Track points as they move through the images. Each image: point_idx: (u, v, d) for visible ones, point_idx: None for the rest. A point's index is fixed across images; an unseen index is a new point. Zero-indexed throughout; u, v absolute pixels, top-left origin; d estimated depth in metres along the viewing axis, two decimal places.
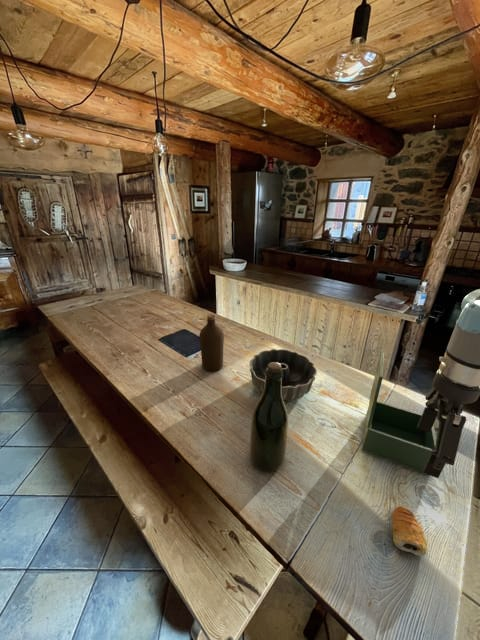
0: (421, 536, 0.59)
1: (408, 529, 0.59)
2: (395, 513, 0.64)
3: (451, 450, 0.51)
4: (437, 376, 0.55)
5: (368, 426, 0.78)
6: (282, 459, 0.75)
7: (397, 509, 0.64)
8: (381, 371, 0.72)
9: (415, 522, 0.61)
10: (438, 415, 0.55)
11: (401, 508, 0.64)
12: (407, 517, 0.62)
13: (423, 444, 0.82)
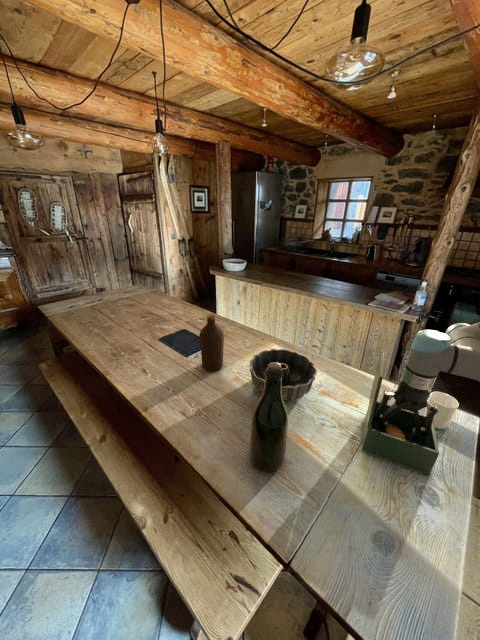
0: (404, 439, 0.81)
1: (395, 435, 0.82)
2: (386, 427, 0.86)
3: None
4: (419, 394, 0.71)
5: (368, 426, 0.78)
6: (282, 459, 0.75)
7: (388, 425, 0.87)
8: (381, 371, 0.72)
9: (400, 432, 0.84)
10: (416, 414, 0.75)
11: (391, 424, 0.87)
12: (394, 429, 0.84)
13: (423, 444, 0.82)
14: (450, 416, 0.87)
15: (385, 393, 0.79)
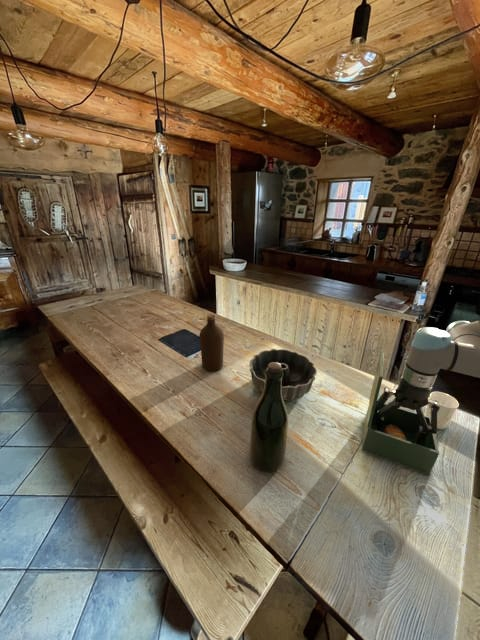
0: (404, 439, 0.81)
1: (395, 435, 0.82)
2: (386, 427, 0.86)
3: None
4: (419, 391, 0.71)
5: (368, 426, 0.78)
6: (282, 459, 0.75)
7: (388, 425, 0.87)
8: (381, 371, 0.72)
9: (400, 432, 0.84)
10: (419, 412, 0.75)
11: (391, 424, 0.87)
12: (394, 429, 0.84)
13: (423, 444, 0.82)
14: (450, 416, 0.87)
15: (386, 390, 0.78)
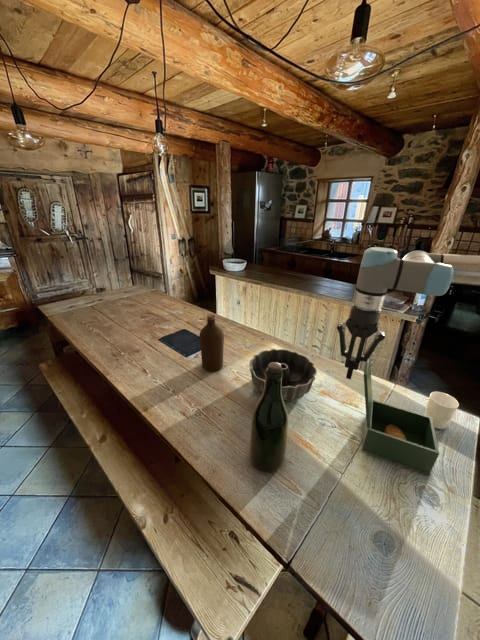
0: (404, 439, 0.81)
1: (395, 435, 0.82)
2: (386, 427, 0.86)
3: None
4: (367, 314, 0.69)
5: (367, 426, 0.78)
6: (282, 459, 0.75)
7: (388, 425, 0.87)
8: (365, 369, 0.74)
9: (400, 432, 0.84)
10: (363, 339, 0.74)
11: (391, 424, 0.87)
12: (394, 429, 0.84)
13: (423, 444, 0.82)
14: (450, 416, 0.87)
15: (338, 325, 0.77)
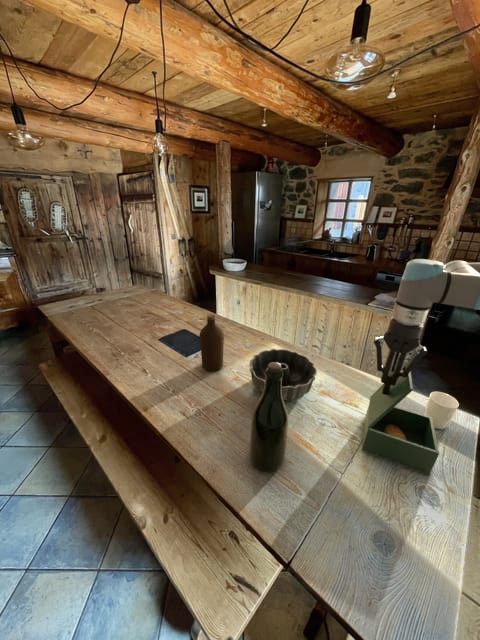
0: (404, 439, 0.81)
1: (395, 435, 0.82)
2: (386, 427, 0.86)
3: None
4: (410, 329, 0.66)
5: (369, 426, 0.78)
6: (282, 459, 0.75)
7: (388, 425, 0.87)
8: (411, 383, 0.70)
9: (400, 432, 0.84)
10: (403, 354, 0.71)
11: (391, 424, 0.87)
12: (394, 429, 0.84)
13: (423, 444, 0.82)
14: (450, 416, 0.87)
15: (375, 339, 0.74)
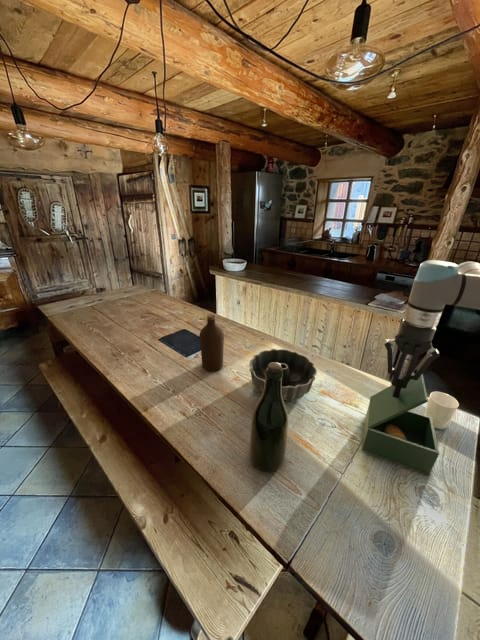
0: (404, 439, 0.81)
1: (395, 435, 0.82)
2: (386, 427, 0.86)
3: None
4: (422, 332, 0.65)
5: (370, 427, 0.78)
6: (282, 459, 0.75)
7: (388, 425, 0.87)
8: (426, 394, 0.69)
9: (400, 432, 0.84)
10: (415, 357, 0.70)
11: (391, 424, 0.87)
12: (394, 429, 0.84)
13: (423, 444, 0.82)
14: (450, 416, 0.87)
15: (386, 341, 0.73)
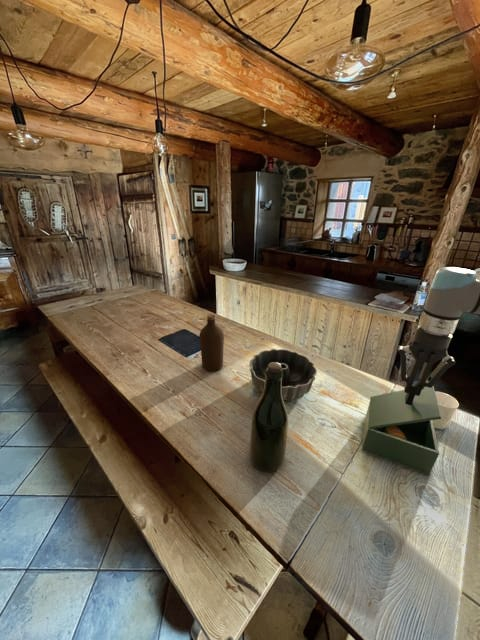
0: (404, 439, 0.81)
1: (395, 435, 0.82)
2: (386, 427, 0.86)
3: None
4: (438, 339, 0.64)
5: (370, 427, 0.77)
6: (282, 459, 0.75)
7: None
8: (439, 410, 0.69)
9: (400, 432, 0.84)
10: (430, 364, 0.69)
11: None
12: (394, 429, 0.84)
13: (423, 444, 0.82)
14: (450, 416, 0.87)
15: (399, 348, 0.72)
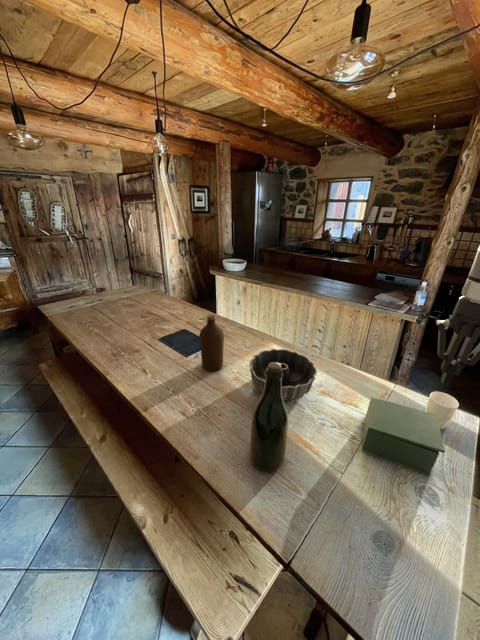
0: None
1: None
2: None
3: None
4: None
5: (371, 428, 0.78)
6: (282, 459, 0.75)
7: None
8: None
9: None
10: (474, 339, 0.62)
11: None
12: None
13: None
14: (450, 416, 0.87)
15: (438, 322, 0.66)
